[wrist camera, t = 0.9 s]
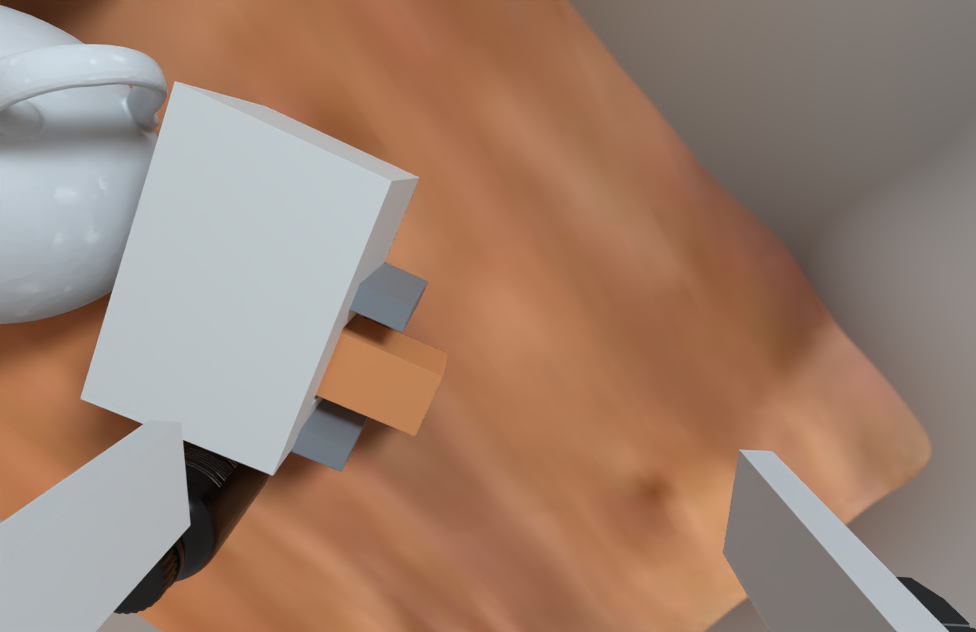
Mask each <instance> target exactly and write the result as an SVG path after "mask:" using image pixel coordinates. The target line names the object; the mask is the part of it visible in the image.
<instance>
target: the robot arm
mask: <svg viewBox="0 0 976 632" xmlns="http://www.w3.org/2000/svg"><path fill="white" fill-rule="evenodd" d="M189 526H190V514H189V503H188V492H187V481H186V470H185V459H184V448H183V437H182V426H181V422H171V421H151V420H149V421H147V422H146V423H145V424H143V425H142V426H140V427H139V428H137V429H136V430H134V431H133V432H132V433H130V434H129V435H127V436H126V437H124V438H123V439H121V440H120V441H119V442H117V443H116V444H114V445H113V446H111V447H110V448H108V449H107V450H106V451H104V452H103V453H101V454H100V455H98V456H97V457H95V458H94V459H92V460H91V461H90V462H88V463H87V464H85V465H84V466H82V467H81V468H79V469H78V470H77V471H75V472H74V473H72V474H71V475H69V476H68V477H66V478H65V479H64V480H62V481H61V482H59V483H58V484H56V485H55V486H53V487H52V488H51V489H49V490H48V491H46V492H45V493H43V494H42V495H40V496H39V497H38V498H36V499H35V500H33V501H32V502H30V503H29V504H27V505H26V506H25V507H23V508H22V509H20V510H19V511H17V512H16V513H14V514H13V515H12V516H10V517H9V518H7V519H6V520H4V521H3V522H1V523H0V632H96V630H97V629H98V628H99V627H100V626H101V625H102V624H103V623H104V622H105V620H106V619H107V618H108V617H109V616H110V615H111V614H112V613H113V611H114V610H115V609H116V608H117V607H118V606H119V605H120V604H121V603H122V601H123V600H124V599H125V598H126V597H127V596H128V595H129V594H130V592H131V591H132V590H133V589H134V588H135V587H136V586H137V585H138V583H139V582H140V581H141V580H142V579H143V578H144V577H145V576H146V574H147V573H148V572H149V571H150V570H151V569H152V568H153V567H154V566H155V564H156V563H157V562H158V561H159V560H160V559H161V558H162V557H163V555H164V554H165V553H166V552H167V551H168V550H169V549H170V548H171V546H172V545H173V544H174V543H175V542H176V541H177V540H178V539H179V538H180V536H181V535H182V534H183V533H184V532H185V531H186V530H187V529H188V527H189ZM723 554H724V556H725V557H726V559H727V561H728V563H729V564H730V566H731V568H732V569H733V571H734V573H735V574H736V576H737V578H738V580H739V581H740V583H741V585H742V586H743V588H744V590H745V592H746V593H747V595H748V597H749V598H750V600H751V602H752V604H753V605H754V607H755V609H756V610H757V612H758V614H759V616H760V617H761V619H762V621H763V622H764V624H765V626H766V627H767V629H768V631H769V632H976V629H975V628H970V626H969V623H968V622H967V621H966V620H965V619H964V618H963V617H962V616H961V615H960V614H959V613H958V612H957V611H956V610H955V609H954V608H952V607H951V605H949V603H947V602H946V601H945V600H944V599H943V598H942V597H940V596H938V595H937V594H935V593H934V592H932V591H931V590H929V589H927V588H926V587H924V586H923V585H921V584H920V583H918V582H916V581H915V580H913V579H912V578H906V577H895V576H894V575H893V574H892V573H891V572H890V571H889V570H888V569H887V568H886V567H885V566H884V565H883V564H882V563H881V562H880V561H879V560H878V559H877V558H876V557H875V556H874V555H873V554H872V552H871V551H870V550H868V549H867V547H866V546H865V545H864V544H863V543H862V542H861V541H860V540H859V539H858V538H857V537H856V536H855V535H854V534H853V533H852V532H851V531H850V530H849V529H848V528H847V527H846V526H845V525H844V524H843V523H842V522H841V521H840V520H839V519H838V518H837V517H836V516H835V515H834V514H833V513H832V512H831V511H830V510H829V509H828V508H827V507H826V506H825V505H824V504H823V503H822V501H821V500H820V499H819V498H818V497H817V496H816V495H815V494H814V493H813V492H812V491H811V490H810V489H809V488H808V487H807V486H806V485H805V484H804V483H803V482H802V481H801V480H800V479H799V478H798V477H797V476H796V475H795V474H794V473H793V472H792V471H791V470H790V469H789V468H788V467H787V466H786V465H785V464H784V463H783V462H782V461H781V460H780V459H779V458H778V457H777V456H776V455H775V454H774V453H773V451H755V450H739V455H738V461H737V468H736V474H735V480H734V486H733V493H732V499H731V505H730V511H729V518H728V524H727V530H726V537H725V543H724V549H723Z"/></svg>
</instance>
